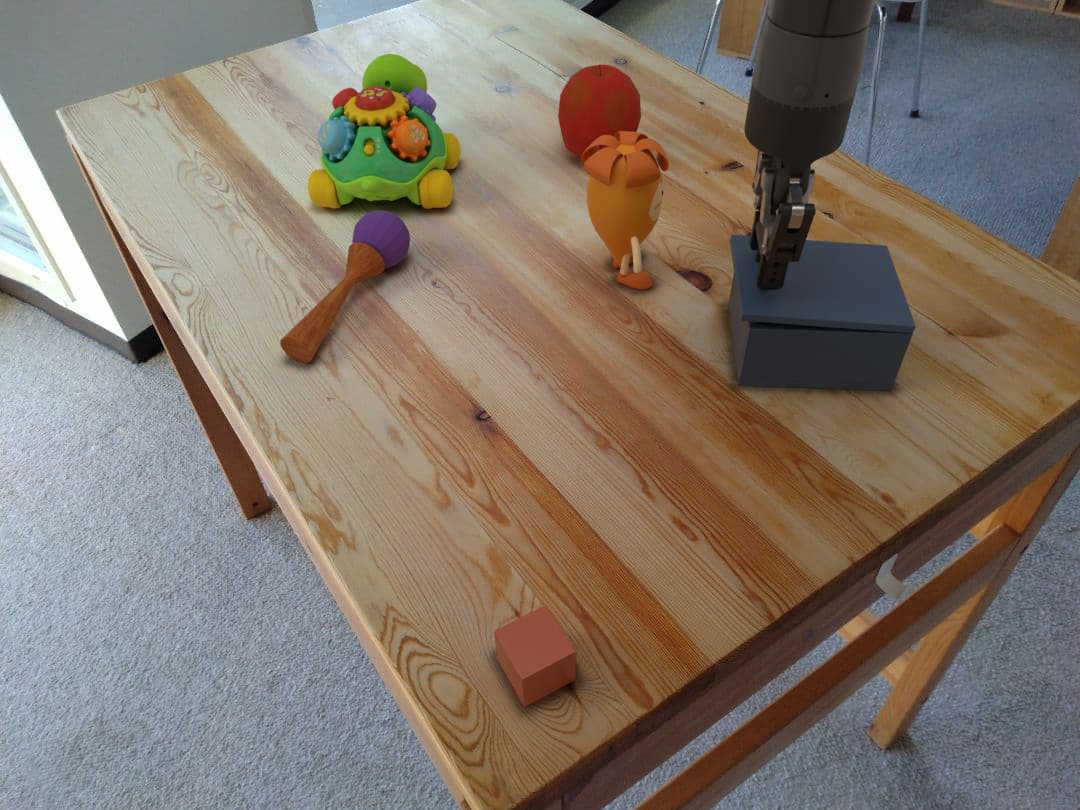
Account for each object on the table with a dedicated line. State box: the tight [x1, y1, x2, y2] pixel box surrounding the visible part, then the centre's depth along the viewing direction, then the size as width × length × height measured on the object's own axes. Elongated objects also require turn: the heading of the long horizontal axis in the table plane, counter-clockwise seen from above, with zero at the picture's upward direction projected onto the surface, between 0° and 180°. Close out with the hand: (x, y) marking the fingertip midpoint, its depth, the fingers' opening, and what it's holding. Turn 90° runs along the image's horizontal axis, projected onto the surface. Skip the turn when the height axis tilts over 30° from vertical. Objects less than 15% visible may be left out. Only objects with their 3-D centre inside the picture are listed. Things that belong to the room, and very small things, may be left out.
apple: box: [557, 64, 642, 160], centre depth 102 cm, size 10×10×12 cm
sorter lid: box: [729, 219, 917, 334], centre depth 74 cm, size 14×12×5 cm
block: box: [493, 604, 577, 708], centre depth 57 cm, size 4×4×4 cm
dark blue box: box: [727, 274, 914, 392], centre depth 78 cm, size 14×12×7 cm
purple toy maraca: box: [279, 209, 411, 364], centre depth 86 cm, size 6×6×20 cm
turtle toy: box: [307, 53, 462, 210], centre depth 100 cm, size 17×23×12 cm
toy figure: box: [580, 131, 670, 291], centre depth 84 cm, size 12×8×15 cm
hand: (765, 266), depth 75 cm, fingers closed on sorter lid, 5 cm apart
